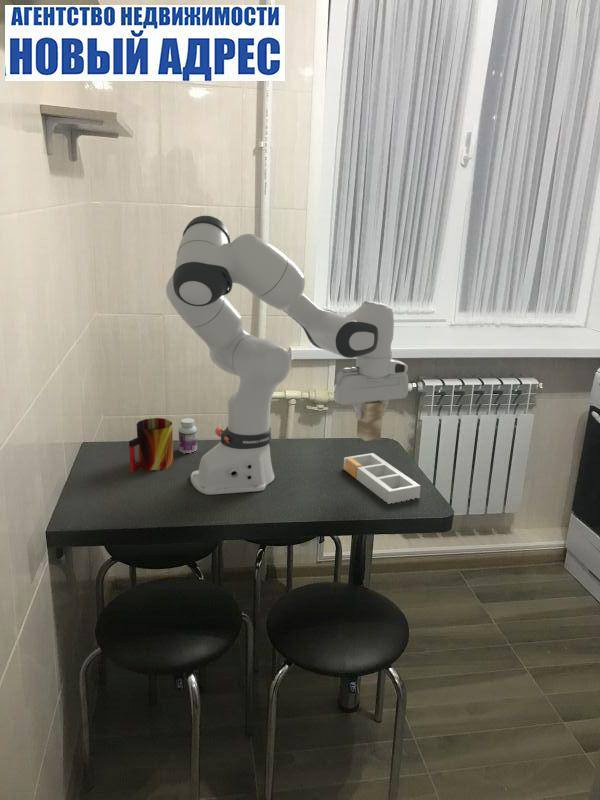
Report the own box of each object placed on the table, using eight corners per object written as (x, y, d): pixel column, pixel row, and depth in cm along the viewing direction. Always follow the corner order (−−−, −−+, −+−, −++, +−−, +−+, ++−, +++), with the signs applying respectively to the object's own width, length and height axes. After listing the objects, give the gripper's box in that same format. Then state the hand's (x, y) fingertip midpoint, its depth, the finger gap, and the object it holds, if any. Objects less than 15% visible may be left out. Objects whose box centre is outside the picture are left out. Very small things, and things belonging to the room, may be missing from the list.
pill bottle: (177, 448, 192) (176, 418, 189) (194, 446, 194) (193, 416, 191) (181, 455, 187) (181, 424, 184) (199, 452, 189) (198, 422, 186)
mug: (129, 476, 172) (127, 434, 169) (143, 456, 185) (141, 417, 182) (165, 477, 172) (164, 436, 169) (176, 457, 185) (175, 418, 182)
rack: (387, 504, 161) (388, 490, 160) (342, 469, 182) (343, 456, 180) (419, 498, 165) (420, 484, 164) (372, 464, 186) (373, 452, 185)
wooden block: (365, 441, 165) (367, 404, 162) (356, 435, 169) (358, 399, 166) (380, 439, 167) (383, 402, 164) (371, 433, 171) (374, 397, 168)
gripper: (342, 371, 155) (339, 425, 160) (413, 365, 164) (409, 416, 168) (331, 365, 161) (328, 417, 165) (400, 359, 169) (396, 409, 173)
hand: (369, 416), depth 167 cm, fingers closed on wooden block, 5 cm apart
